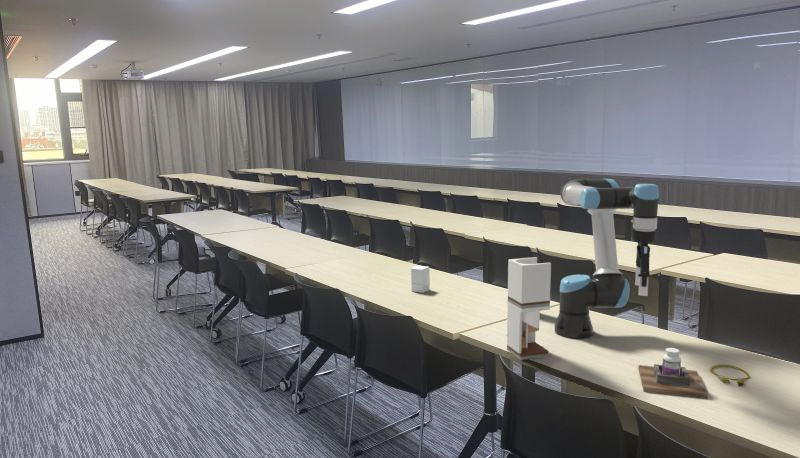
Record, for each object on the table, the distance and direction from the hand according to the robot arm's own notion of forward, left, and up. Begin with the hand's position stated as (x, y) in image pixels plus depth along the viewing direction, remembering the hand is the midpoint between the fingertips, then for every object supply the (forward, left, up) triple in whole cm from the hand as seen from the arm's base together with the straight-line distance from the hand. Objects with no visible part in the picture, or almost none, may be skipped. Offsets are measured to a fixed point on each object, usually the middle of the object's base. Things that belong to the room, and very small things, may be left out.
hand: (641, 290), depth 198 cm
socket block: (+14, +9, -27) cm, 31 cm away
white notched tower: (0, -38, -27) cm, 47 cm away
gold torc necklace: (+2, +28, -27) cm, 40 cm away
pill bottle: (+14, +9, -25) cm, 30 cm away
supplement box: (-74, -100, -27) cm, 127 cm away
